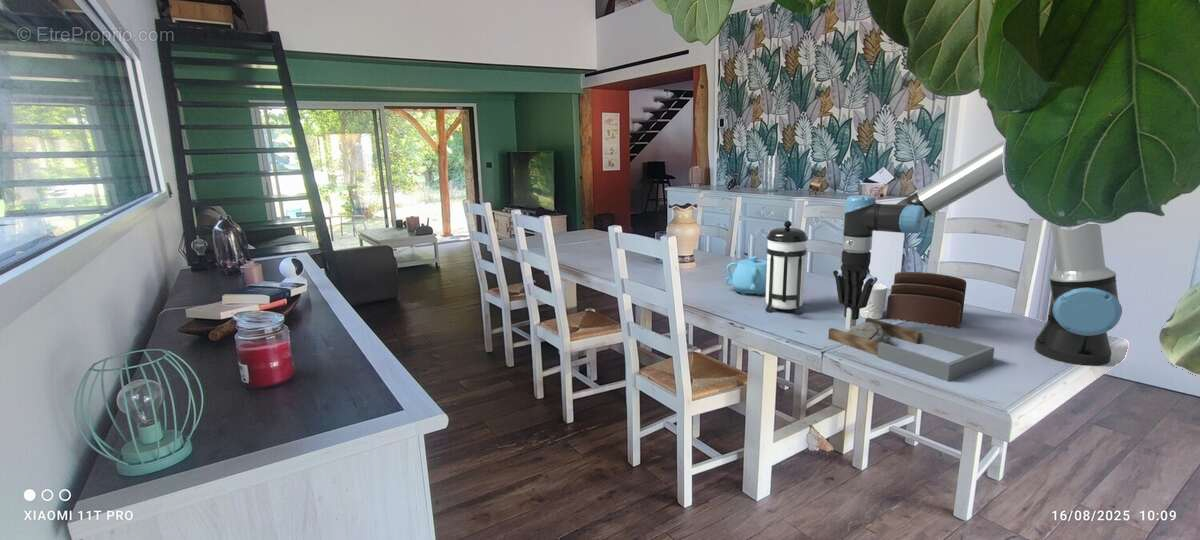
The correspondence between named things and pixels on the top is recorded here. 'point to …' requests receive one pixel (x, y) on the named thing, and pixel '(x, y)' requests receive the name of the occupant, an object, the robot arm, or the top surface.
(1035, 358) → the top surface
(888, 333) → the slot rails
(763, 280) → the decorative pot
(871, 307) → the white cup
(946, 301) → the letter holder
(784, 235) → the coffee press
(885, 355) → the tray
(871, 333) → the fossilized seashell
